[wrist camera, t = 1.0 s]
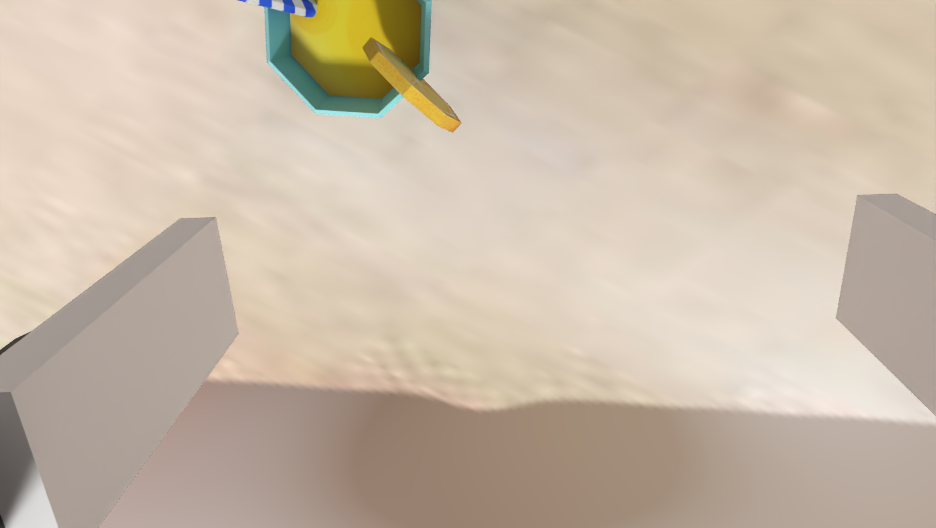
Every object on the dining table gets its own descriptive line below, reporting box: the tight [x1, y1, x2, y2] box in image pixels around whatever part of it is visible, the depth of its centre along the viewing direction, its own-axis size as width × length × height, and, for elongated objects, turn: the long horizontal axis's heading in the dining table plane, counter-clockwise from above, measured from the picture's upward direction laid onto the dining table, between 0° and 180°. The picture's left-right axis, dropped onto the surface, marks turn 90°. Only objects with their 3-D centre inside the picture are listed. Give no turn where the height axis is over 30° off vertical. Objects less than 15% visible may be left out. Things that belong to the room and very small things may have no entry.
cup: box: [239, 0, 461, 133], centre depth 32 cm, size 14×8×15 cm, turn 64°
